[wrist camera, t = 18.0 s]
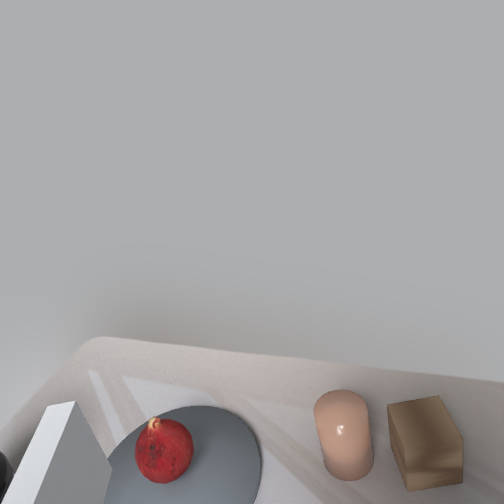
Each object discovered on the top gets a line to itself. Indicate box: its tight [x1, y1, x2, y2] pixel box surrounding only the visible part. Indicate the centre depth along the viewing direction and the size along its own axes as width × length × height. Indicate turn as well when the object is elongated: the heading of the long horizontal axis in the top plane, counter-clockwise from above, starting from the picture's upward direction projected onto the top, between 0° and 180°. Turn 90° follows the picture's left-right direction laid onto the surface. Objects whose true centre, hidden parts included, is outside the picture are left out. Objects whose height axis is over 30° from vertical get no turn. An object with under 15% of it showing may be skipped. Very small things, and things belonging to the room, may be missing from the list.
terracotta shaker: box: [314, 390, 374, 481], centre depth 44 cm, size 5×5×7 cm
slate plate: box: [103, 406, 261, 504], centre depth 47 cm, size 18×18×1 cm
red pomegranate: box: [135, 417, 194, 484], centre depth 45 cm, size 6×6×8 cm
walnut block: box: [387, 395, 463, 492], centre depth 42 cm, size 5×5×6 cm
